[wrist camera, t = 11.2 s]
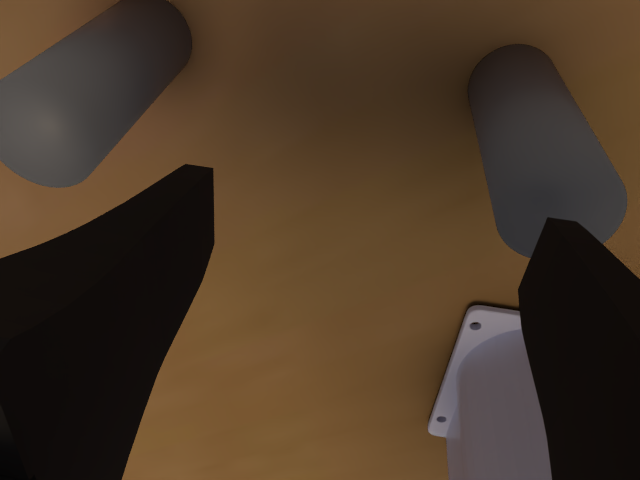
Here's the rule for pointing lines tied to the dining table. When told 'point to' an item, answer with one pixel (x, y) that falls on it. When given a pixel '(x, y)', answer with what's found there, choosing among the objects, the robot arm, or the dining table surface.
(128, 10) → the post corner
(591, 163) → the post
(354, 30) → the dining table surface
